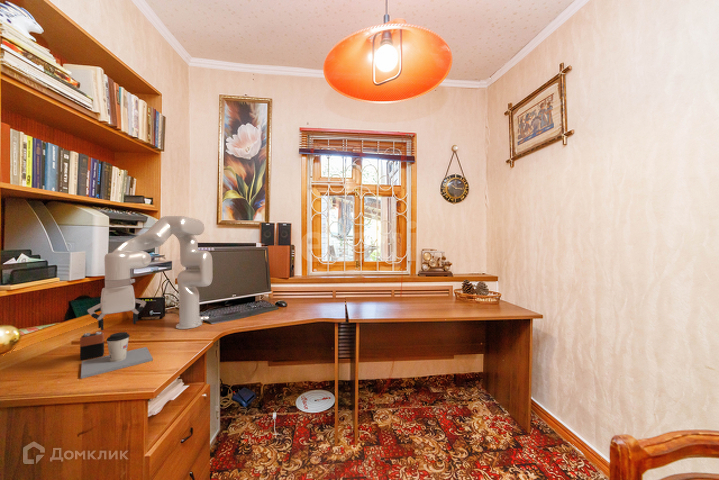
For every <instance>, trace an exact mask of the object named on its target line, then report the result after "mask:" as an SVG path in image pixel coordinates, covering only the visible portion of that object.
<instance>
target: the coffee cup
mask: <svg viewBox="0 0 719 480" xmlns="http://www.w3.org/2000/svg"><path fill="white" fill-rule="evenodd" d="M129 338H130V334H129V333H128V332H126V331H120V332H114V333H112V334H110V336H108V337H107V338H106V342H107V349H108V355H109V356H110V361H111V362H117V361H121V360H124V359H125V358H126V353H127V351H128V344H129Z"/></svg>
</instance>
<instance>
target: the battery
mask: <svg viewBox="0 0 719 480" xmlns="http://www.w3.org/2000/svg"><path fill="white" fill-rule="evenodd" d="M104 354H105V332H103V331H96V332H95V333H91V332H86V333H83V335H81V337H80V339H79V355H80V356H79V359H80V361H85V360H90V359H94V358H99V357H103V356H104Z"/></svg>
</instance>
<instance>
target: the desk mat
mask: <svg viewBox="0 0 719 480" xmlns="http://www.w3.org/2000/svg"><path fill="white" fill-rule="evenodd" d="M153 359H154V357H153V356H152V354H151V352H150V351H149V349H148V347H147V346H145V347H144V346H143V347H139V348H135V349H131V350H127V353H126V358H125V359H124V360H121V361H117V362H111V361H110V356H109V354H108V355H105V356H104V355H103V356H101V357H96V358H91V359H86V360H81V369H80V370H81V371H80V379H86V378H89V377H93V376H97V375H100V374H104V373H109V372H112V371H116V370H121V369H124V368H128V367H132V366H133V367H134V366H136V365H140V364H144V363H147V362H148V363H149V362H152V361H153Z"/></svg>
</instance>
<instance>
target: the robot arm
mask: <svg viewBox="0 0 719 480" xmlns="http://www.w3.org/2000/svg"><path fill="white" fill-rule="evenodd" d="M204 231H205V225H204V222H202V220H200V219H196V218H192V217H189V216H185V215H184V216H183V215H167V216H163V217H160V218H159V219H157V220H156V221H155V223H154V224H153V225H152V226H151V227H149V229H147V230H146V231H145V232H143V233H141V234H139V235H137V236H134V237H133V238H130V239H128V240H126V241H124V242H123V243H121V244H120V245H119V246H118V247H116V248H115V249H114V250H113V251H112V252H108V253H106V254H105V255H104V258H103V259H104V261H103V262H104V287H103V288H102V289H101V293H100V303H98V304H96V305H94V306H92V307H90V308H88V309H87V313H88V314H89V315H90V316H91V317H92V318H93V319H95V320H97V325H98V327H97V328H98V329H100V331H104V317H105V316H106V315H111V314H112V315H113V314H119V313H126V312H130V311H131V312H133V313H132V324H133V325H137V322H138V321H139V313H140V312H141V311H142V310H144V308H145V306H146V304H147V301H145V300H141V299H139V298H136V297H135V291H134V290H135V289H134V286H133V285H132V284H133V283H135V282H136V279H135V278H131V269H132V270H133V269H136V270H137V269H145V268H146V267H147V266H149V265H150V264H151V263H152V256H151V254H150V253H148V252H146V251H147V250H151V249H155V248H158V247H161V246H162V245H164V244H165V243H166V241H167V240H168V239H169V238H170V237H171V236H172V235H174V236H175V237H176V239H177V240H178V242H179V258H180V259H179V261H180V265H181V266H182V267H184V268H199V269H184V270H181V271H179V273H178V274H177V277H176V281H177V285H178V292H179V294H178V295H179V296H178V297H179V301H178V302H179V305H178V306H179V309H178V311H179V313H178V314H179V315H178V316H179V319H178V321H179V323H177V324H176V325H175V329H179V330H188V329H193V328H197V327H200V326H202V325H203V321H209V318H210V317H209V315H207V316H206V315H204V316H201V315H200V292H199V289H198V287H200V288H201V287H208V286H210V285H211V284H212V282H213V278H214V277H213V275H214V274H213V270H214V269H213V257H212V256H213V255H212V253H211V252H210V251H207V250H199V247H198V246H199V245H198V240H197V238H196V237H195V236H200V235H202V234H203V233H204ZM136 304H140V305H139V306H138V308H137V309H136ZM98 309H100V313H99V314H97V313H96V312H95V311H96V310H98Z"/></svg>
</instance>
